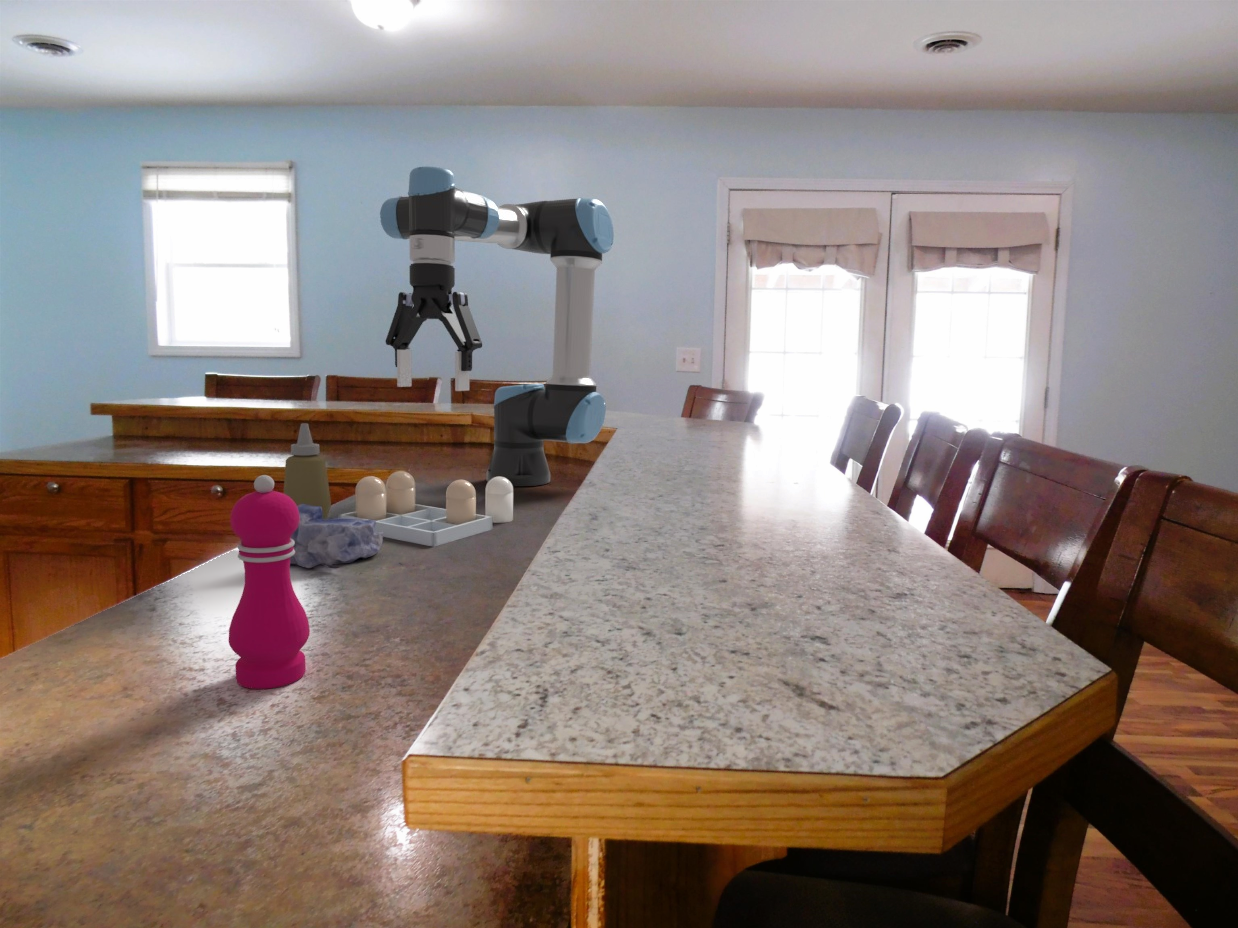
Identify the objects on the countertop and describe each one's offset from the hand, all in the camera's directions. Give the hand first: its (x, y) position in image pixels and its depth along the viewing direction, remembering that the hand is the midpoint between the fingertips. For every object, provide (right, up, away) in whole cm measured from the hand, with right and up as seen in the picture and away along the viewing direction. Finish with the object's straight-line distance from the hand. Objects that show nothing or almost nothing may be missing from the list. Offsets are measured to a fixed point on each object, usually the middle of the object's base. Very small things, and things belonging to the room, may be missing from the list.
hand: (432, 388), depth 138 cm
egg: (+11, -24, +7) cm, 27 cm away
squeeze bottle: (-22, -24, +2) cm, 33 cm away
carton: (-2, -25, -2) cm, 25 cm away
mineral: (-10, -28, -21) cm, 37 cm away
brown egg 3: (+5, -25, -2) cm, 25 cm away
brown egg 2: (-7, -23, +5) cm, 25 cm away
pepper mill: (-2, -34, -60) cm, 69 cm away
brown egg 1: (-10, -24, -1) cm, 26 cm away
